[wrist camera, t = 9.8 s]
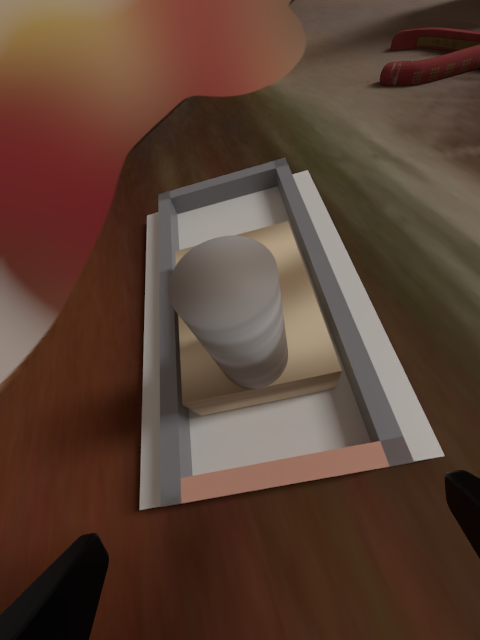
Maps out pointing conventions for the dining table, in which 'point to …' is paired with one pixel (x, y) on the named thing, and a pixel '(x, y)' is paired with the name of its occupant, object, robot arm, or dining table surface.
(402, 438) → the bay
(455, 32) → the pliers
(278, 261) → the cylinder on cream base
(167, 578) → the dining table surface
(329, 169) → the dining table surface
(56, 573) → the robot arm
